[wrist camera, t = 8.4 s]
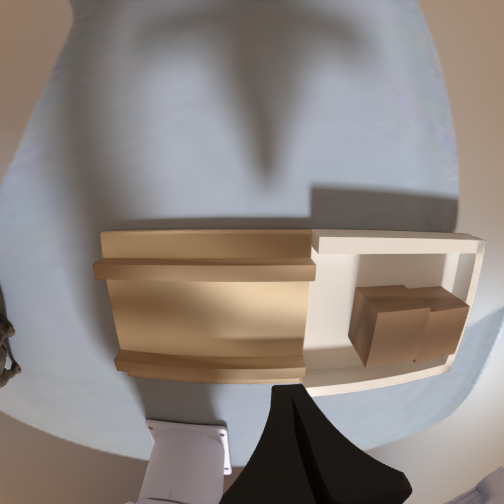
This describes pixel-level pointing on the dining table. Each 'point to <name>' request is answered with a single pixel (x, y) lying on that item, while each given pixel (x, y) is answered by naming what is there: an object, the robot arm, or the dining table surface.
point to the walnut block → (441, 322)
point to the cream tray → (377, 274)
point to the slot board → (209, 303)
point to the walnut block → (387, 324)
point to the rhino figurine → (3, 375)
